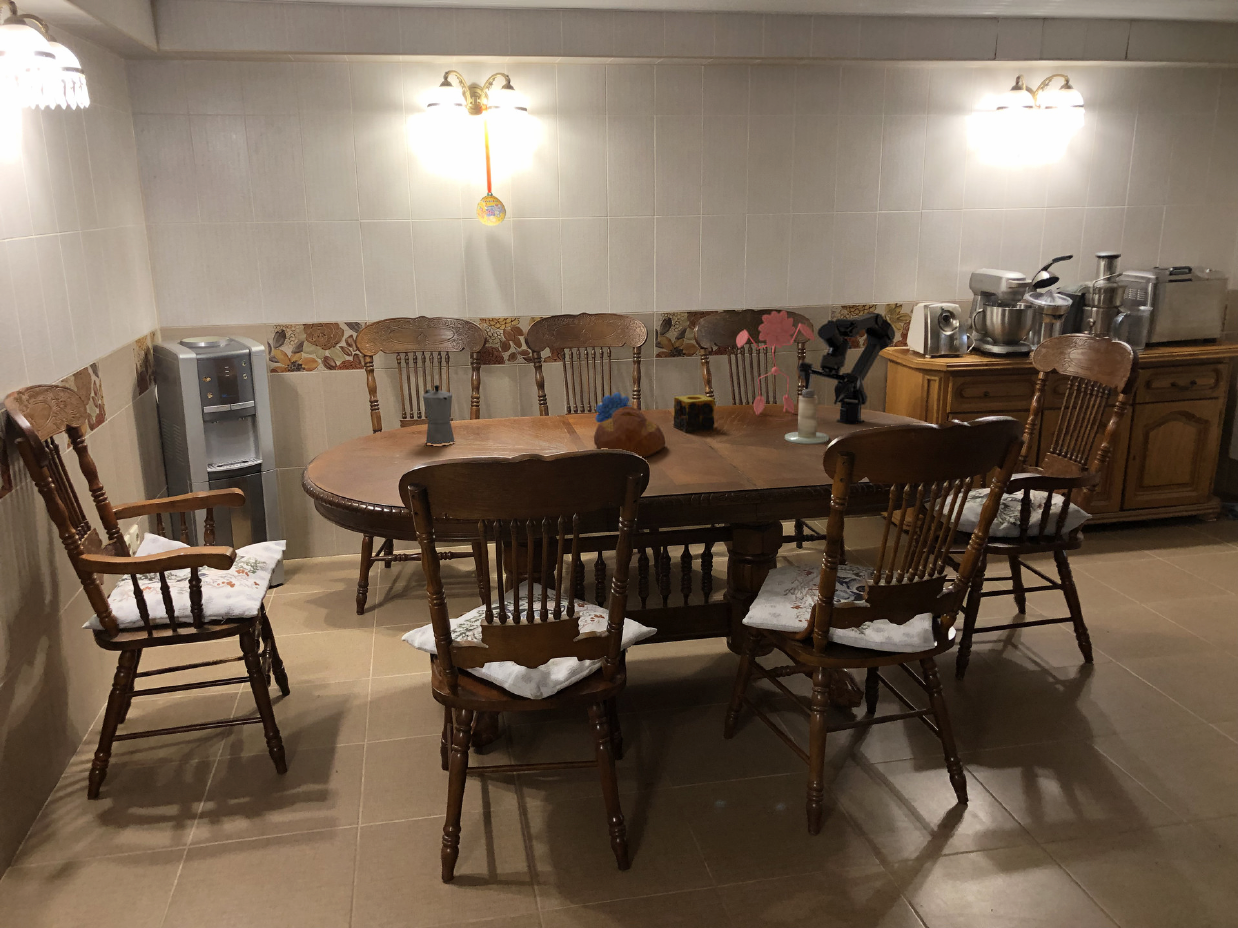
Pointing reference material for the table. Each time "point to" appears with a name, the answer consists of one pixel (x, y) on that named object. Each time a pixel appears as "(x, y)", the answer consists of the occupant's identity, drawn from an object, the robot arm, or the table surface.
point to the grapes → (610, 406)
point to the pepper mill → (807, 414)
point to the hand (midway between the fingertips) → (820, 400)
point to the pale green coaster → (795, 439)
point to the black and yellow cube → (693, 413)
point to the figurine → (774, 334)
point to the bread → (629, 433)
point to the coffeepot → (438, 416)
